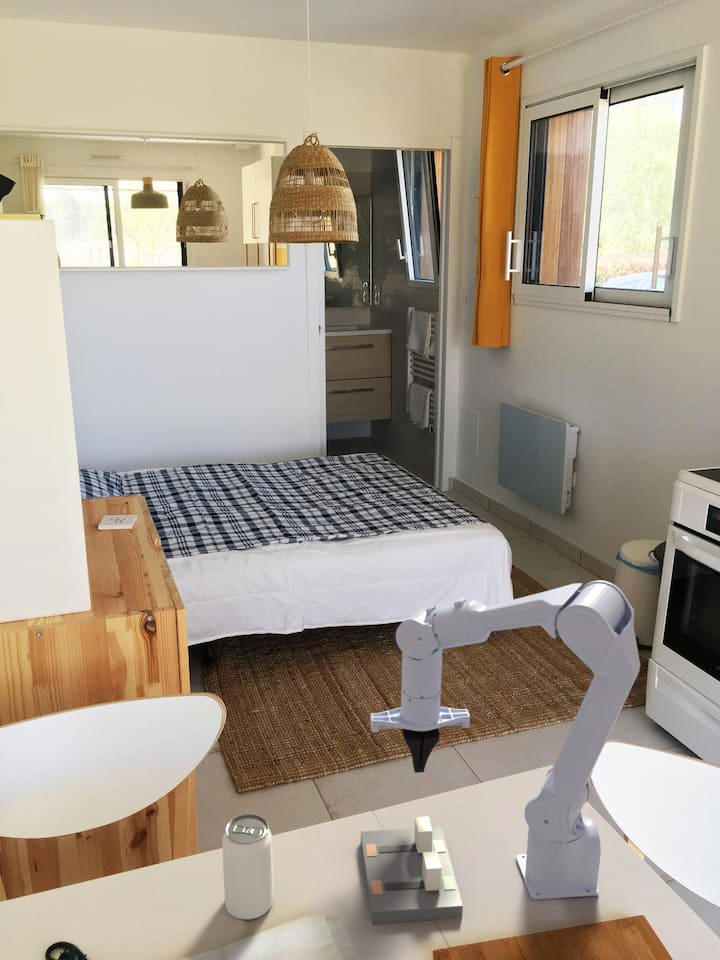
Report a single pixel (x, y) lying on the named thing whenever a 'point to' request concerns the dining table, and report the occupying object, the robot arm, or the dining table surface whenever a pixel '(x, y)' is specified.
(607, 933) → the dining table surface
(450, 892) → the panel
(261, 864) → the can
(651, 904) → the dining table surface
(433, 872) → the block
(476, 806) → the dining table surface
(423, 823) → the block
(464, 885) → the dining table surface
